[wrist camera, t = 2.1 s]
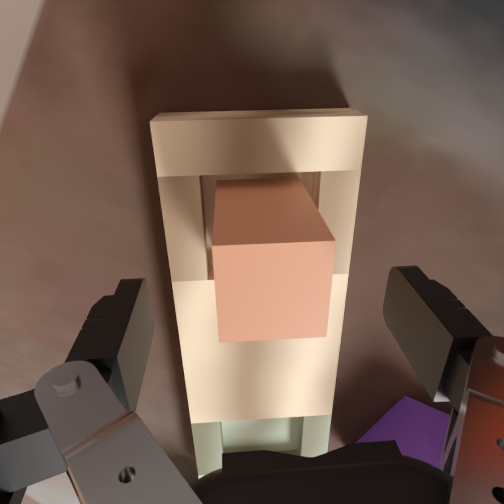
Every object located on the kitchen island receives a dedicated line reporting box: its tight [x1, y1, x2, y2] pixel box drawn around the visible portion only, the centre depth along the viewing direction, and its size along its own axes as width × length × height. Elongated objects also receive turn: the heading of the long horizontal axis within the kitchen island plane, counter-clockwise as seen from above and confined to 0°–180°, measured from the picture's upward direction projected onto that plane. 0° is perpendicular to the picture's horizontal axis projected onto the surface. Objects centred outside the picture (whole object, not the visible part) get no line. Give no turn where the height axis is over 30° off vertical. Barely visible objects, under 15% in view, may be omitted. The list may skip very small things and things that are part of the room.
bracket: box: [356, 396, 450, 468], centre depth 28 cm, size 12×7×7 cm, turn 59°
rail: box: [150, 108, 367, 479], centre depth 23 cm, size 9×26×2 cm, turn 1°
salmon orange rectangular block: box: [212, 177, 336, 343], centre depth 16 cm, size 4×4×7 cm
